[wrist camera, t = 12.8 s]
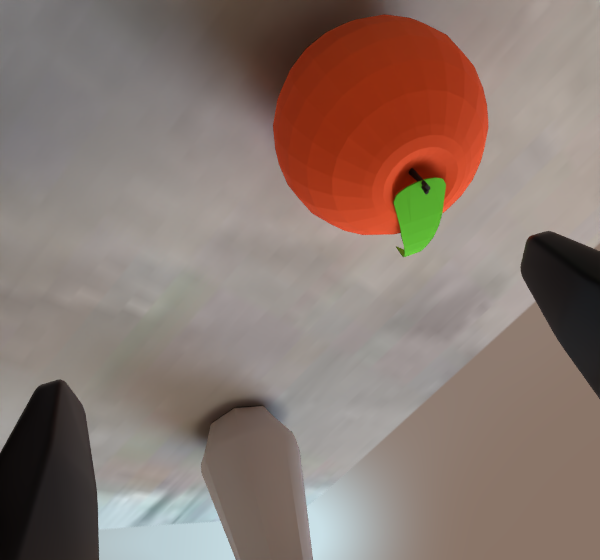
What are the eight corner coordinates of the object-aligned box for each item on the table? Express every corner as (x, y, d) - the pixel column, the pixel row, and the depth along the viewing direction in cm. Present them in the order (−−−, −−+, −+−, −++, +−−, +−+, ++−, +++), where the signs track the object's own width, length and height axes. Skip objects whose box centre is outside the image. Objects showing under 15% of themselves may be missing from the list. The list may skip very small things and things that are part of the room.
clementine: (429, 158, 24) (521, 262, 19) (280, 209, 24) (334, 329, 19) (425, -41, 18) (555, 32, 13) (229, 21, 18) (287, 121, 13)
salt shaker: (266, 383, 32) (342, 632, 22) (301, 424, 36) (377, 649, 27) (177, 427, 32) (216, 690, 23) (221, 462, 36) (270, 698, 27)
